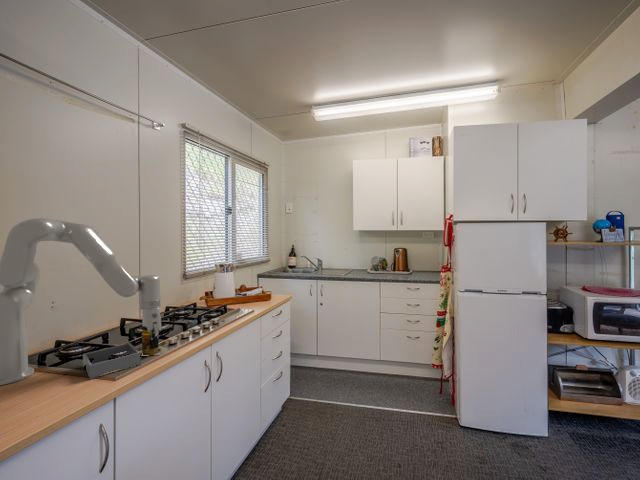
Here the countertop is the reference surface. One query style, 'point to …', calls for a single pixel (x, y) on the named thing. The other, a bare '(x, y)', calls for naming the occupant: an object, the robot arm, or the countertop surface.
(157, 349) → the condiment
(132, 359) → the bin
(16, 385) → the countertop surface
